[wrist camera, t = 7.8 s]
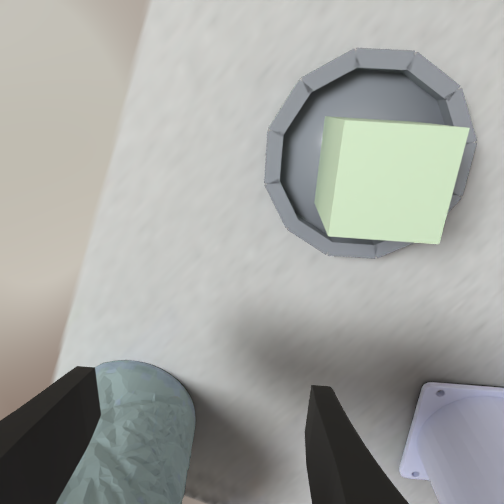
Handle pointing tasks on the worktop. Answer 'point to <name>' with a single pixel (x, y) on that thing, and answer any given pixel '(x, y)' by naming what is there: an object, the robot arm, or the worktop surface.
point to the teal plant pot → (136, 439)
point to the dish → (355, 106)
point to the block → (387, 178)
